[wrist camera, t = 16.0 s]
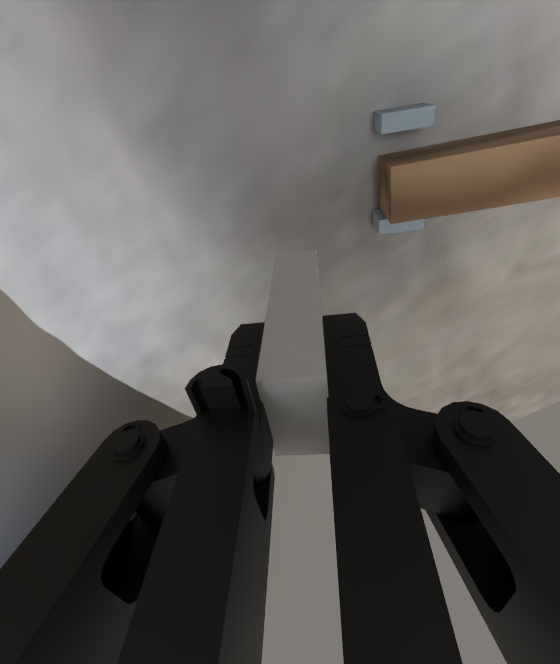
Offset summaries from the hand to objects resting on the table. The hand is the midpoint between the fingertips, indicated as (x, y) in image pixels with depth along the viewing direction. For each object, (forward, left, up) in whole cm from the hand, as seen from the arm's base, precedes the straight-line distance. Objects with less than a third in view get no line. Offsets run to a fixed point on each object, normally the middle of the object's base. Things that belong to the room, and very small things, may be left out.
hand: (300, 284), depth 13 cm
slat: (+1, +17, -19) cm, 26 cm away
